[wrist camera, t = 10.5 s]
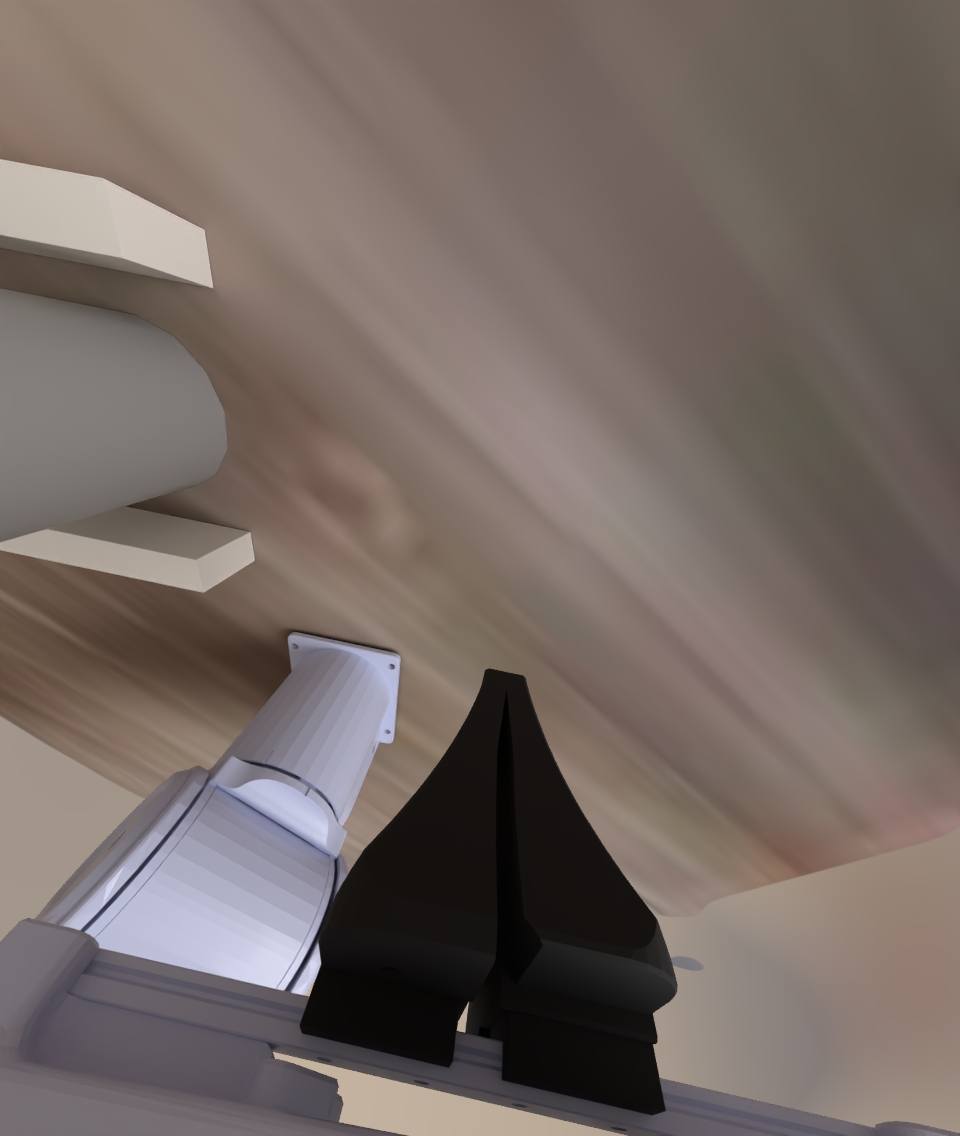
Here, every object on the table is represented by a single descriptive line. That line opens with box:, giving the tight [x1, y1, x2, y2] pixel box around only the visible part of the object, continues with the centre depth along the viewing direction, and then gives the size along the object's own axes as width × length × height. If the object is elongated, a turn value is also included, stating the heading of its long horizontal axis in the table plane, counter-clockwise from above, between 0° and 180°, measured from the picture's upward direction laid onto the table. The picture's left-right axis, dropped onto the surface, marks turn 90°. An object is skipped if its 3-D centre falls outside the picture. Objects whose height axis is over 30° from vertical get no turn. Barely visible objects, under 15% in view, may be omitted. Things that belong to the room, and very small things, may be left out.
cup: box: [0, 288, 228, 542], centre depth 14 cm, size 8×8×10 cm
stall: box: [0, 159, 255, 593], centre depth 17 cm, size 16×14×4 cm
